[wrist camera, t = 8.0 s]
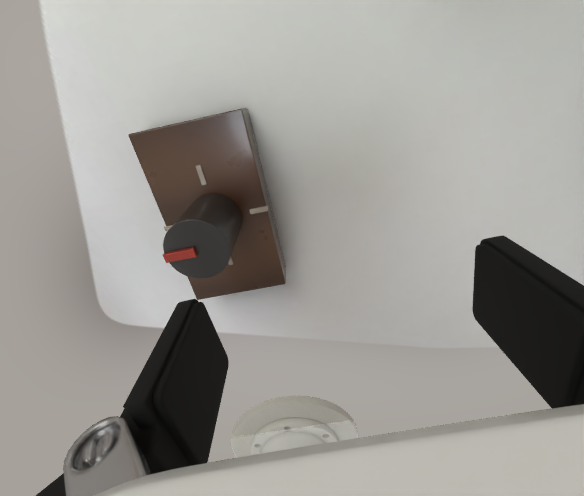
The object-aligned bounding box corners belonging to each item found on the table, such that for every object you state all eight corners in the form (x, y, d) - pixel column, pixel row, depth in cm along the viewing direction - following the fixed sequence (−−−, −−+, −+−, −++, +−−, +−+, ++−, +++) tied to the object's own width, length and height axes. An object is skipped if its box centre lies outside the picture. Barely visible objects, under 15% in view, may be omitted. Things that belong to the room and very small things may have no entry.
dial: (233, 188, 22) (217, 215, 17) (248, 236, 24) (237, 275, 19) (181, 199, 22) (150, 229, 17) (199, 246, 24) (175, 286, 19)
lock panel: (286, 266, 29) (286, 285, 26) (204, 281, 29) (195, 301, 26) (248, 107, 22) (243, 108, 20) (144, 130, 23) (124, 135, 20)
